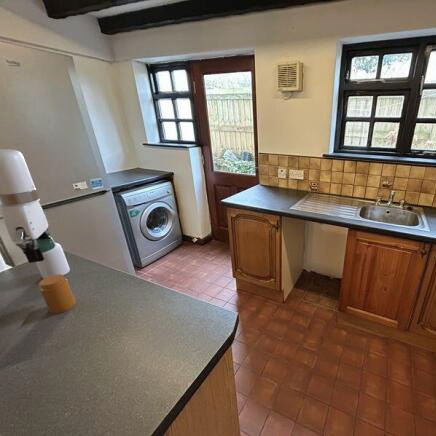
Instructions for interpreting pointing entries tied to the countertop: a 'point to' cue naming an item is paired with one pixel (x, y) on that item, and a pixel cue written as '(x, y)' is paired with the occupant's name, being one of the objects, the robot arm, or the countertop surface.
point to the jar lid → (44, 244)
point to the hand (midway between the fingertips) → (42, 254)
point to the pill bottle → (53, 262)
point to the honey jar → (57, 294)
